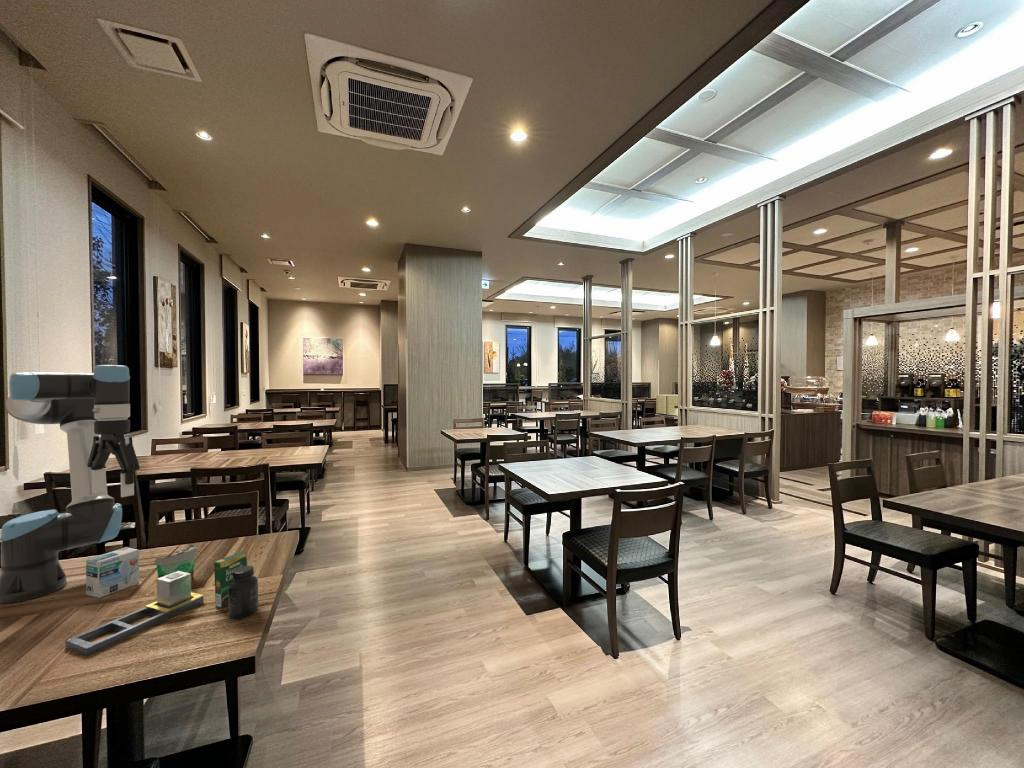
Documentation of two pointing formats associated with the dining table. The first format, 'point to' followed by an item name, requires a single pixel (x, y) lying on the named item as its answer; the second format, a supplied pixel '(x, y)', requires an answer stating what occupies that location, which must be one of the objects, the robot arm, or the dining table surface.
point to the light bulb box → (112, 572)
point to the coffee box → (226, 576)
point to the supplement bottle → (243, 593)
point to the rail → (128, 626)
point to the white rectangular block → (173, 589)
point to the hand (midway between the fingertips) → (113, 494)
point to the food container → (177, 562)
